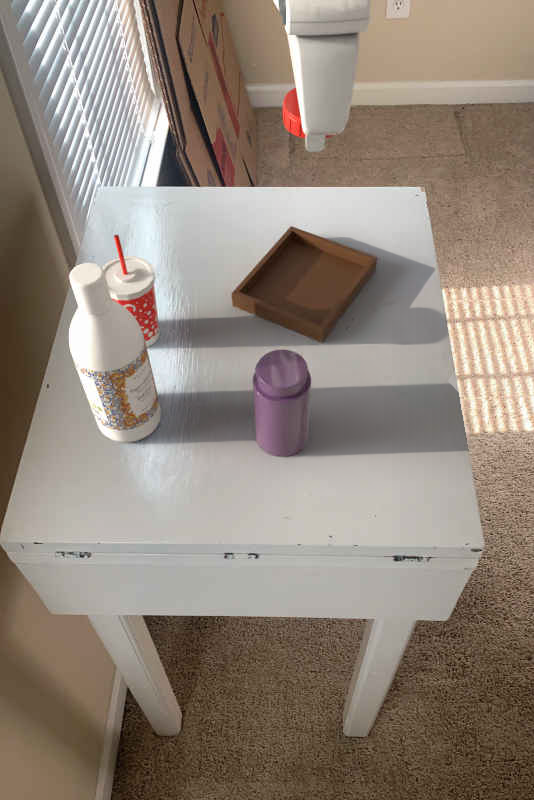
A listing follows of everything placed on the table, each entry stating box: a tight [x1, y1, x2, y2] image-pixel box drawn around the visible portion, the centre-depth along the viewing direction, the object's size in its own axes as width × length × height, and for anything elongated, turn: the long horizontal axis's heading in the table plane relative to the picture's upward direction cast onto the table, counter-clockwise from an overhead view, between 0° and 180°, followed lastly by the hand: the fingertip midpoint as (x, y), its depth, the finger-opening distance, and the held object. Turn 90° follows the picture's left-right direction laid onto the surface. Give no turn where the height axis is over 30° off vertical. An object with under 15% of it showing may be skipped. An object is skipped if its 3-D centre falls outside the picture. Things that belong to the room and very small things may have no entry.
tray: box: [231, 225, 378, 344], centre depth 84 cm, size 14×12×2 cm
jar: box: [252, 349, 312, 458], centre depth 68 cm, size 6×6×11 cm
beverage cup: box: [101, 234, 161, 348], centre depth 75 cm, size 6×6×14 cm
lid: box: [282, 87, 336, 139], centre depth 66 cm, size 6×6×2 cm
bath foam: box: [68, 262, 162, 443], centre depth 66 cm, size 7×7×20 cm
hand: (310, 126), depth 67 cm, fingers closed on lid, 6 cm apart
